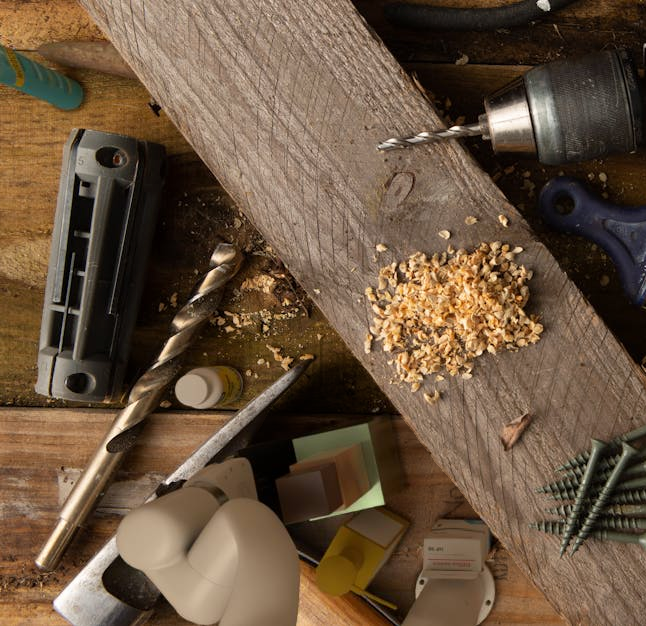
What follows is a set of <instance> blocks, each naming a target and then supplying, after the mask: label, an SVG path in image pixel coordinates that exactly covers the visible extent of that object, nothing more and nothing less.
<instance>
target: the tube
mask: <svg viewBox="0 0 646 626" xmlns="http://www.w3.org/2000/svg"><path fill="white" fill-rule="evenodd" d="M0 84H3V85H5V86H7V87H9V88H12V89H14V90H17V91H19V92H21V93H24V94H27V95H29V96H31V97H33V98H36V99H38V100H41V101H42V102H45V103H48V104H49V105H51V106H54V107H57V108H59V109H62V110H65V111H72V110H75V109H76V108H78V107H79V106H80V105H81V104H82V103H83V101H84V90H83V87H82V86H81V84H79V82H77V81H76V80H74V79H72V78H69V77H67V76H65V75H64V74H62V73H59V72H57V71H55V70H54V69H53V70H52V69H51V68H49V67H47V66H45V65H43V64H41V63H39V62H37V61H35V60H33V59H30V58H29V57H27V56H25V55H23V54H21V53H19V52H17V51H15V50H13V49H11V48H9V47H7V46H4V45H3V44H1V43H0Z"/></svg>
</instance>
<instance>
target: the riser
mask: <svg viewBox="0 0 646 626" xmlns="http://www.w3.org/2000/svg"><path fill="white" fill-rule="evenodd" d="M332 462H335V467H336V471H337V476H338V481H339V485H340V490H341V495H342V499H343V505H342V506H341V507H340V508H338V509H337V510H336V511H334V512H337V511H341V510H346V509H347V508H349V507H350V506H351V505H352V504H354V503H355V502H356V501H357V500H359V499H360V498H361V497H362V496H364V495H365V494H366V493H367V492H369V491H370V490H371V488H370V483H369V479H368V474H367V469H366V465H365V460H364V455H363V451H362V446H361V443H356V444H351V445H346V446H342V447H337V448H333V449H328V450H324V451H320V452H318V453H316V454H314V455H312V456H310V457H307V458H305V459H303V460H301V461H299V462H297V463H295V464H293V465H291V466H290V472H292V471H296V470H301V469H305V468H310V467H314V466H319V465H323V464H328V463H332Z"/></svg>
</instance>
